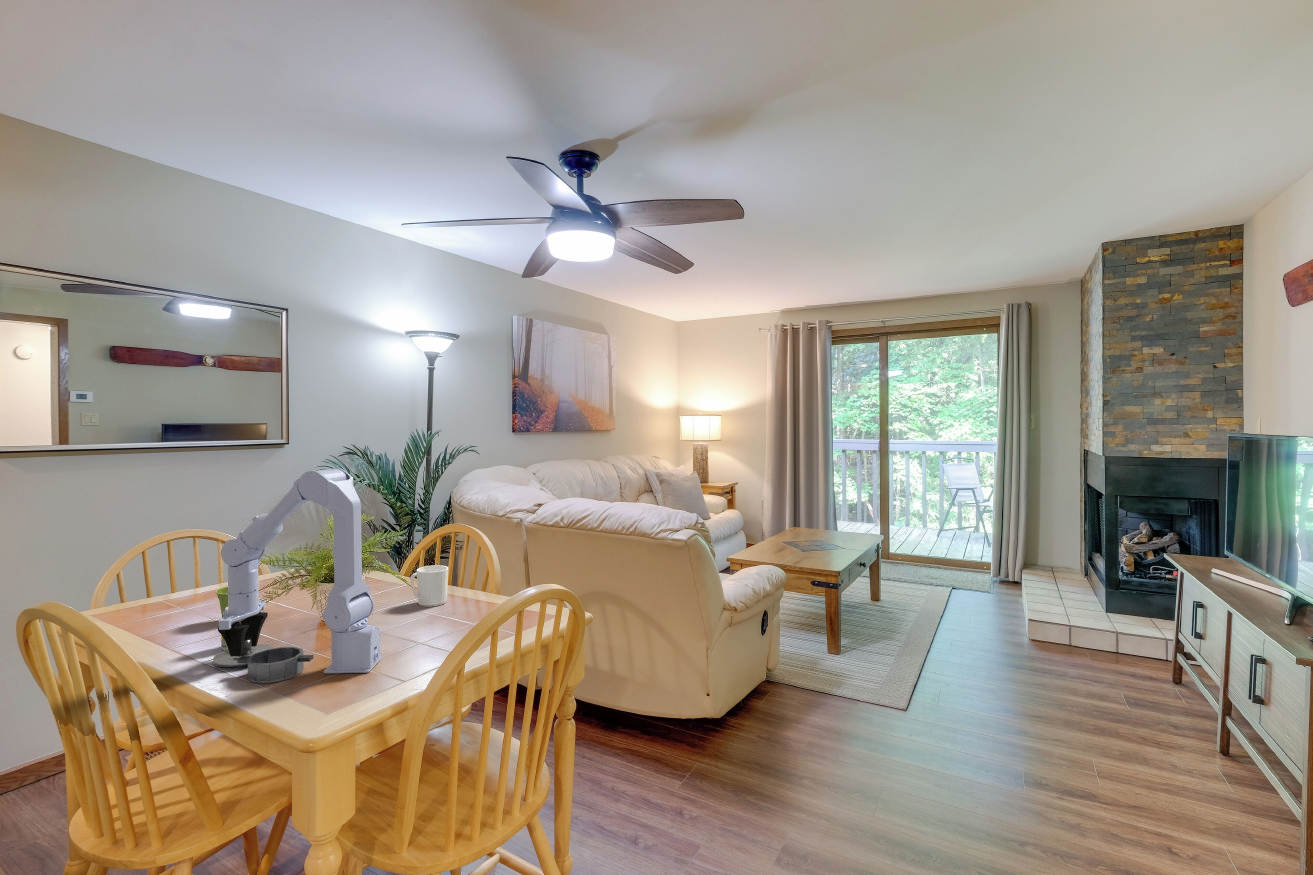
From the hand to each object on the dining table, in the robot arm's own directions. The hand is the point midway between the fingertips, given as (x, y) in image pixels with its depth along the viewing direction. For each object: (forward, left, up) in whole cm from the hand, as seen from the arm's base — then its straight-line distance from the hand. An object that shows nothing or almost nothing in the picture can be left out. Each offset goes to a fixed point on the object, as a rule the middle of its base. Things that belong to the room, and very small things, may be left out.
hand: (243, 650), depth 138 cm
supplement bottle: (+7, -9, -2) cm, 12 cm away
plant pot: (+18, -29, -2) cm, 34 cm away
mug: (-29, -42, -2) cm, 51 cm away
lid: (0, 0, -2) cm, 2 cm away
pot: (-11, +8, -2) cm, 14 cm away
